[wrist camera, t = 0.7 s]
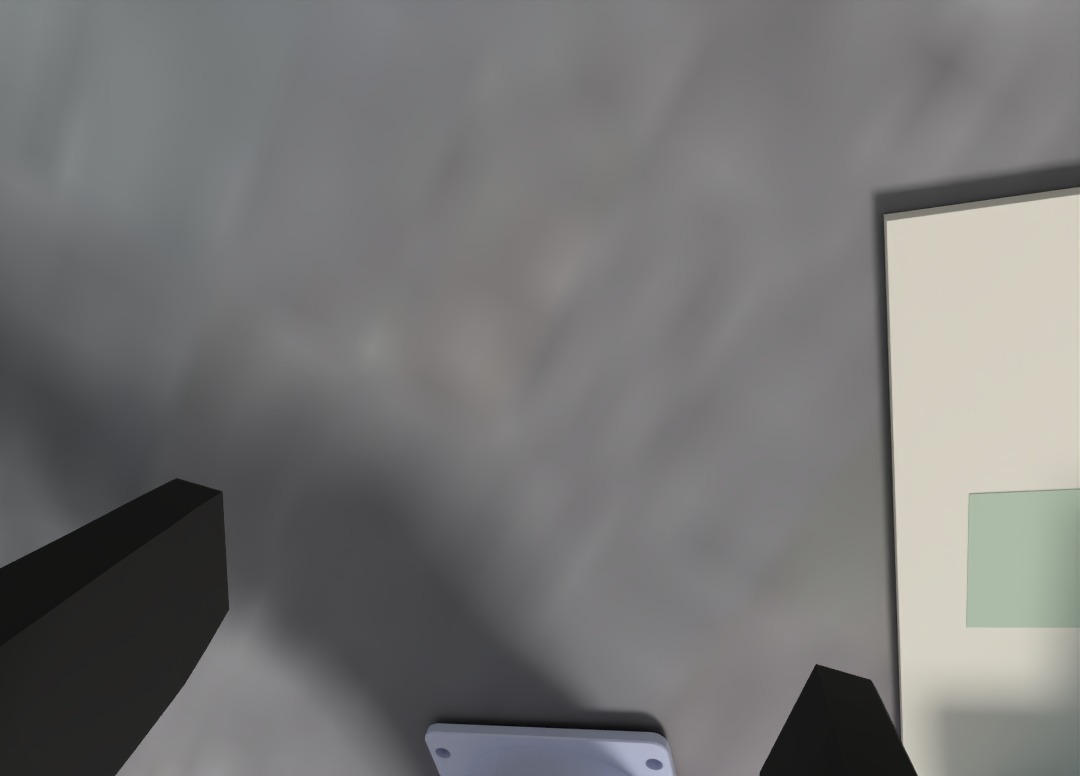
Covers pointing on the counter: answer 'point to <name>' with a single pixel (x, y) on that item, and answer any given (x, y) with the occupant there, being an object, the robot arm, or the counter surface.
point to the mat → (987, 482)
